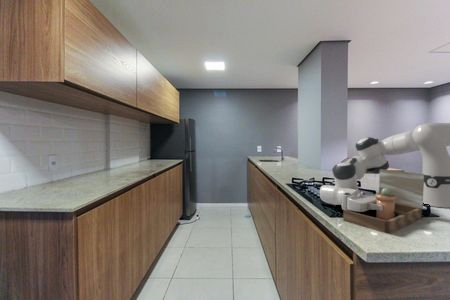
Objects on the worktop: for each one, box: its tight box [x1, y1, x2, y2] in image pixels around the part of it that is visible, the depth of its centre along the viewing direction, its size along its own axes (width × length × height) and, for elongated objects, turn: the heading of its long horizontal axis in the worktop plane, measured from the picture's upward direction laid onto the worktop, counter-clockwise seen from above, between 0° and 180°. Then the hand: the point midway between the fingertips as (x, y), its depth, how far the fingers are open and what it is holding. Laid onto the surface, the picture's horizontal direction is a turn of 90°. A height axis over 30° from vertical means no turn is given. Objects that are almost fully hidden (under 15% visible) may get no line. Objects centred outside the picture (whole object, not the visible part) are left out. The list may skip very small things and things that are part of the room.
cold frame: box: [342, 169, 424, 235], centre depth 100 cm, size 29×16×18 cm, turn 124°
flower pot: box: [375, 188, 396, 221], centre depth 100 cm, size 7×7×13 cm
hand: (387, 206), depth 99 cm, fingers closed on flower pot, 6 cm apart
